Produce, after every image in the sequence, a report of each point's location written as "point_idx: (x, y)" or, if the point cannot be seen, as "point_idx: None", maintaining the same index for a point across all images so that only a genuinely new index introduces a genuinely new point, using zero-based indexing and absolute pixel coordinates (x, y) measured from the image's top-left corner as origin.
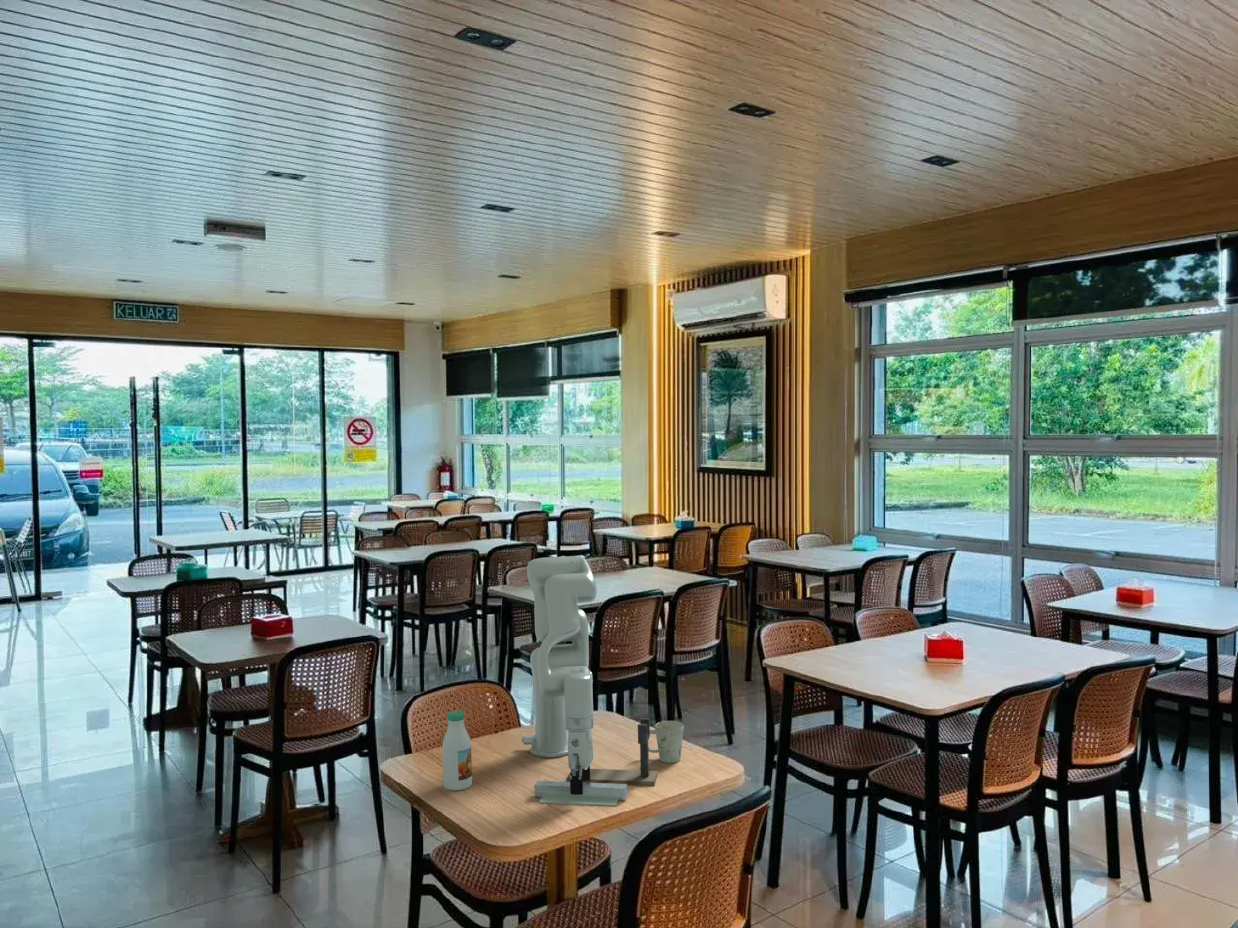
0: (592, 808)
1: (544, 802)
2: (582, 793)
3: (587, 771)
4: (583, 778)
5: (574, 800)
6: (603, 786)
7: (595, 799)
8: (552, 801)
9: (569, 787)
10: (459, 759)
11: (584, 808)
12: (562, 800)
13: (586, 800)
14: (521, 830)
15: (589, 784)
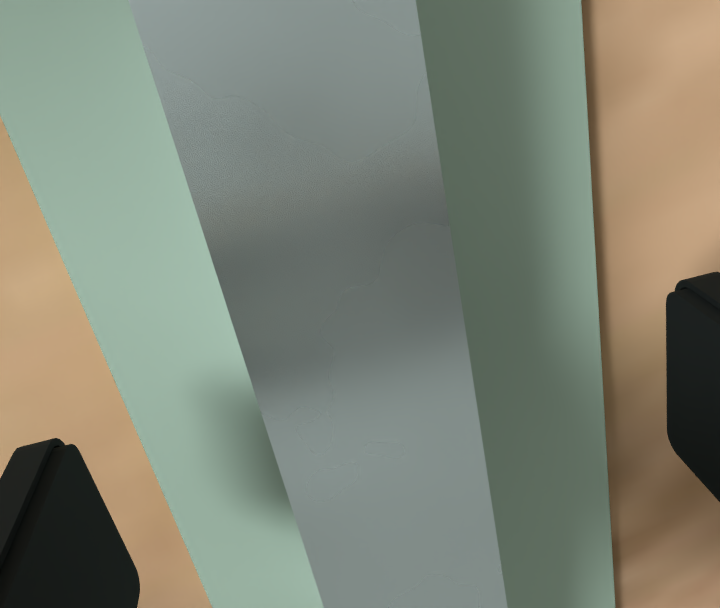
0: (688, 37)
1: (610, 603)
2: (717, 275)
3: (35, 589)
4: (104, 540)
5: (519, 368)
6: (344, 8)
7: None
8: (592, 554)
9: (491, 549)
10: None
11: (698, 150)
12: (546, 484)
13: (486, 226)
14: None
15: (332, 333)
